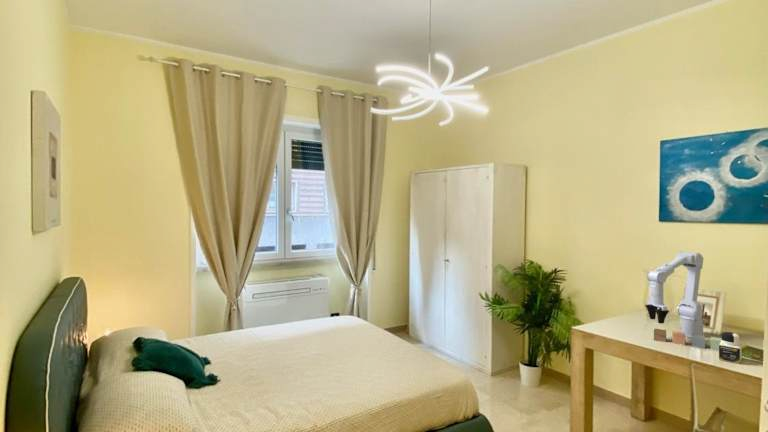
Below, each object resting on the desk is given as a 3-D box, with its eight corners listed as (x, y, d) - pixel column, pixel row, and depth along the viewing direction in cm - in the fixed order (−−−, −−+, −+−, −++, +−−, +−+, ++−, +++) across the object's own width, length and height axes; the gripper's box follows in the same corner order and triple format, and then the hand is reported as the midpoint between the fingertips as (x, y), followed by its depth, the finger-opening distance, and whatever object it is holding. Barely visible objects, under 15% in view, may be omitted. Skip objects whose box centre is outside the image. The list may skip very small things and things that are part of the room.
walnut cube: (654, 337, 214) (654, 328, 214) (666, 339, 211) (666, 330, 211) (653, 340, 210) (653, 330, 210) (665, 342, 207) (665, 332, 207)
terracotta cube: (672, 340, 209) (672, 331, 209) (685, 342, 206) (685, 332, 206) (672, 343, 205) (672, 333, 205) (684, 345, 202) (684, 335, 202)
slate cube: (691, 343, 204) (692, 333, 204) (704, 345, 201) (704, 335, 201) (691, 346, 200) (691, 336, 200) (704, 348, 197) (704, 338, 197)
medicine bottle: (718, 360, 182) (718, 333, 182) (720, 355, 188) (721, 329, 187) (739, 364, 177) (740, 336, 177) (741, 359, 182) (741, 333, 182)
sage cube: (710, 347, 199) (710, 336, 199) (723, 349, 196) (723, 338, 196) (710, 349, 195) (710, 339, 195) (724, 352, 192) (724, 341, 192)
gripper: (640, 291, 216) (640, 317, 217) (656, 297, 202) (656, 325, 202) (655, 291, 215) (655, 317, 216) (671, 297, 201) (671, 325, 201)
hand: (656, 321), depth 209 cm, fingers open, 7 cm apart
